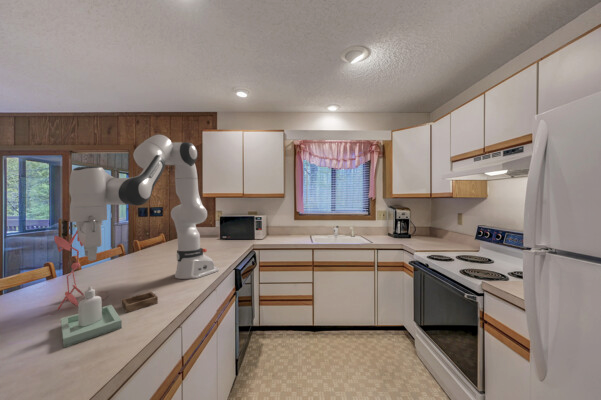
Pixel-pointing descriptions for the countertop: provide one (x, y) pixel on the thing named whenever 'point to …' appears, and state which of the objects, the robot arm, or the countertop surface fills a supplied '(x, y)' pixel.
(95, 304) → the eye dropper bottle
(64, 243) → the red leafy plant shape
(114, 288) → the countertop surface
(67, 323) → the tray
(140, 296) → the walnut rectangular frame
